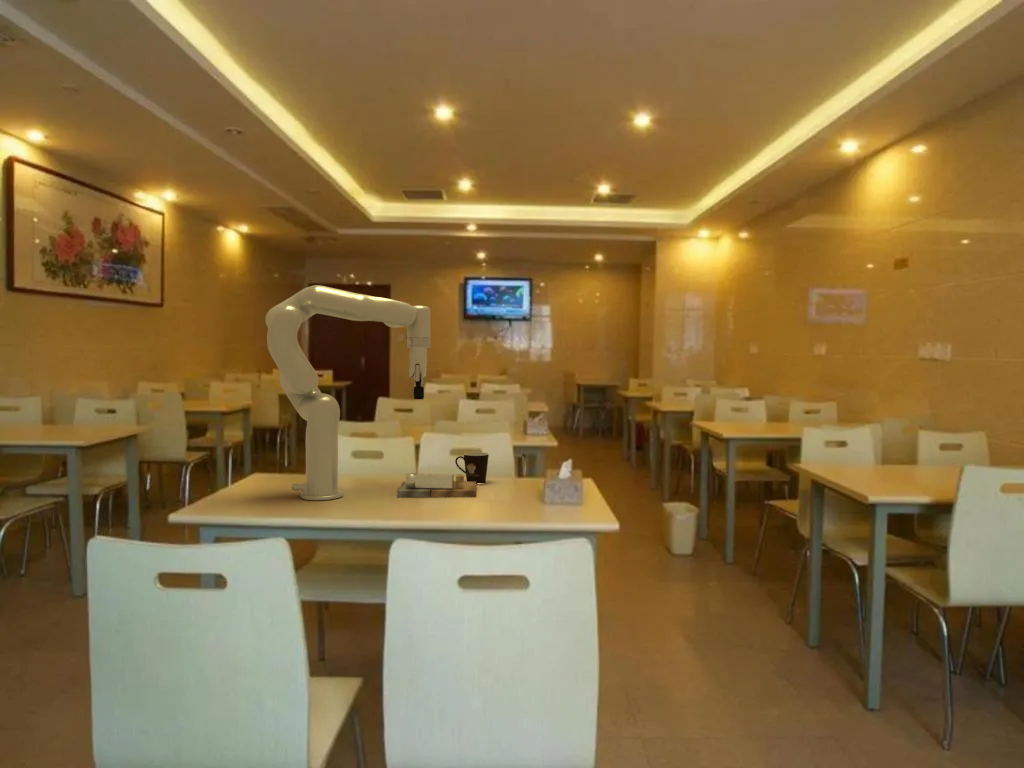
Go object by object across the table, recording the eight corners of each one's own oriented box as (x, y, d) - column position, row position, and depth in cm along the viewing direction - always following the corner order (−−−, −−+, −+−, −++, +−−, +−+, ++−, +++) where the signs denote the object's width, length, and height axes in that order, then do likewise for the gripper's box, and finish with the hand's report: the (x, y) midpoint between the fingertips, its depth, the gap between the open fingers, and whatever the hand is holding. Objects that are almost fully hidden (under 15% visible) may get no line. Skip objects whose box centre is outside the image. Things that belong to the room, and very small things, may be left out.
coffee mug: (493, 483, 235) (493, 454, 235) (473, 486, 230) (473, 456, 229) (473, 478, 244) (473, 450, 244) (453, 481, 238) (453, 452, 238)
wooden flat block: (397, 497, 210) (397, 477, 210) (403, 487, 226) (403, 469, 226) (475, 497, 211) (475, 477, 211) (476, 487, 227) (476, 469, 227)
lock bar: (404, 487, 213) (404, 475, 213) (407, 485, 217) (407, 473, 217) (452, 488, 212) (452, 475, 212) (453, 486, 216) (453, 473, 215)
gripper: (409, 343, 234) (409, 397, 234) (404, 342, 219) (404, 400, 219) (431, 344, 234) (431, 398, 235) (428, 343, 219) (428, 400, 220)
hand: (418, 399), depth 227 cm, fingers closed
